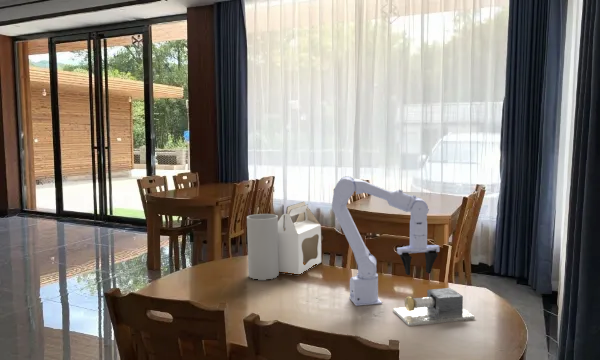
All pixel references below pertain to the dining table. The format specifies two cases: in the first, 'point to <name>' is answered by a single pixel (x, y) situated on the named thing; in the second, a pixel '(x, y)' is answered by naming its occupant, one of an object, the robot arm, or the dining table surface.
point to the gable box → (298, 240)
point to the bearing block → (437, 309)
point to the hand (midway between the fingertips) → (418, 273)
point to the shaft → (419, 302)
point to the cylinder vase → (263, 246)
